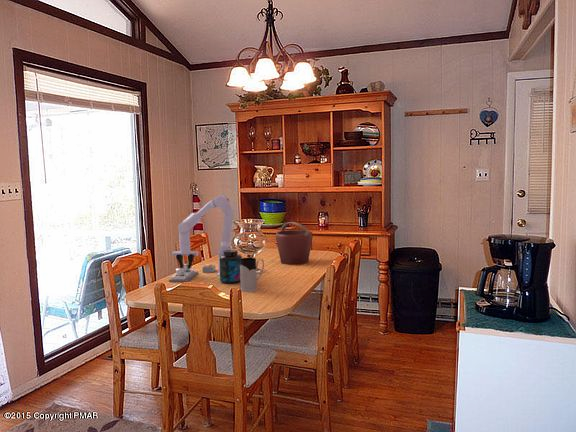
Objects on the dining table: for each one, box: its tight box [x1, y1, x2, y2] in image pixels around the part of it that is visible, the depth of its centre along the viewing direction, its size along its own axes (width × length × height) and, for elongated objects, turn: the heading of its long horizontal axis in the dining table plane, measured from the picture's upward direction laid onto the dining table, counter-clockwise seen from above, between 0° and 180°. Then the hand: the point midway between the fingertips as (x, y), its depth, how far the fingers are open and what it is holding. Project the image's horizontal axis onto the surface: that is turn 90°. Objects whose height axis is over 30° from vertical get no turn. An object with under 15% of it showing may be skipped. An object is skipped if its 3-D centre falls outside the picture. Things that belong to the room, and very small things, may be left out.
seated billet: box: [175, 267, 184, 276], centre depth 248 cm, size 4×4×5 cm
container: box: [218, 249, 243, 285], centre depth 242 cm, size 12×12×16 cm
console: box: [202, 264, 216, 273], centre depth 268 cm, size 6×6×3 cm
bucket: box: [275, 221, 313, 266], centre depth 286 cm, size 24×22×25 cm
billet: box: [182, 263, 191, 272], centre depth 258 cm, size 4×4×5 cm
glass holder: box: [240, 257, 265, 293], centre depth 226 cm, size 9×14×15 cm, turn 135°
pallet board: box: [168, 269, 199, 283], centre depth 254 cm, size 20×10×3 cm, turn 175°
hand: (185, 268), depth 258 cm, fingers closed on billet, 4 cm apart
